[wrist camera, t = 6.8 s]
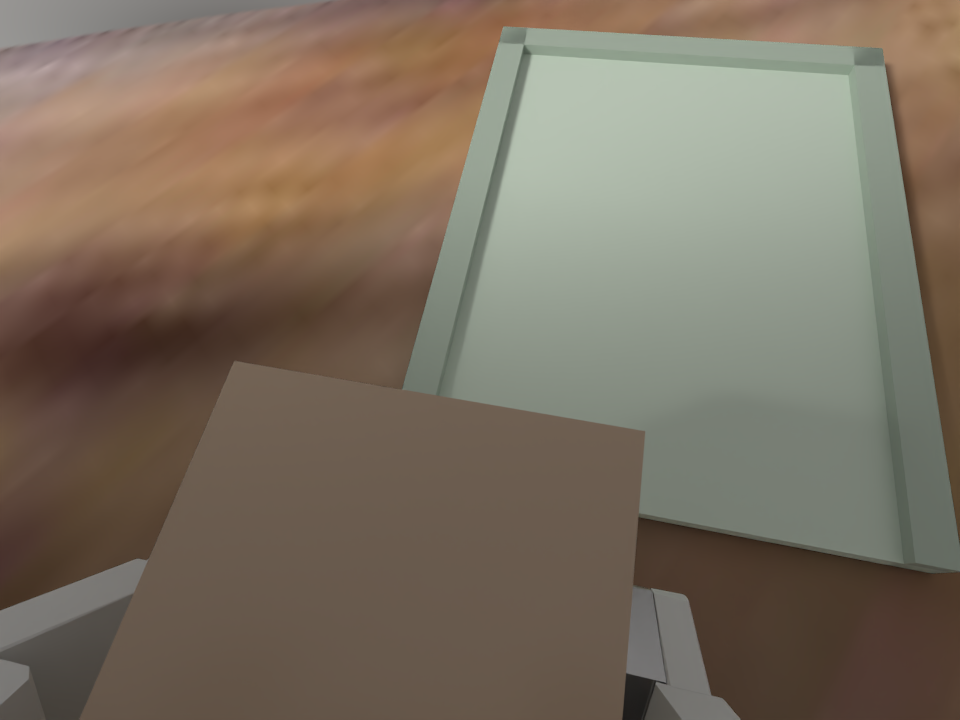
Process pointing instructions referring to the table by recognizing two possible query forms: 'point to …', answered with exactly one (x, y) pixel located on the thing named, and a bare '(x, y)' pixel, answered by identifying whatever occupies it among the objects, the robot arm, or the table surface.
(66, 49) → the table surface
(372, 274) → the table surface
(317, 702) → the canister
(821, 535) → the tray
